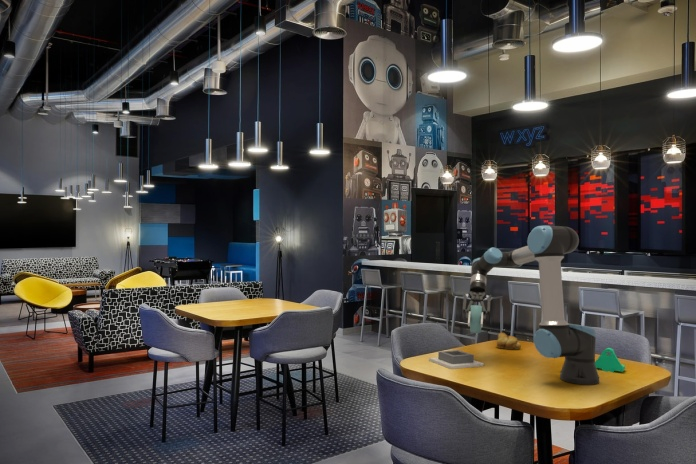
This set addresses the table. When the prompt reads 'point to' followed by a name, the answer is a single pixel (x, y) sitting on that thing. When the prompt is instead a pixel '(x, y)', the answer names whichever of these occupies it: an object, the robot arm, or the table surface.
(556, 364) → the table surface
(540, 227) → the robot arm
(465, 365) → the dock
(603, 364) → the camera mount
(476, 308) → the peg
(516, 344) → the bread roll
